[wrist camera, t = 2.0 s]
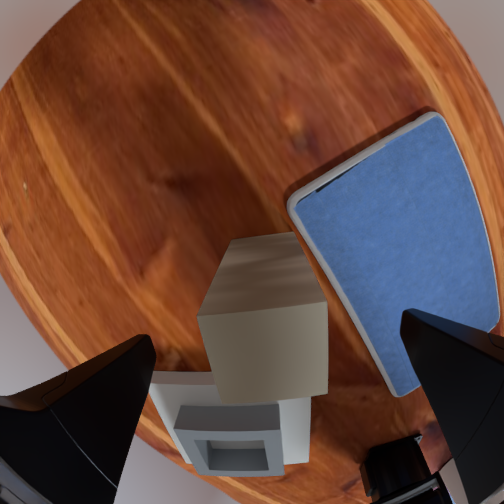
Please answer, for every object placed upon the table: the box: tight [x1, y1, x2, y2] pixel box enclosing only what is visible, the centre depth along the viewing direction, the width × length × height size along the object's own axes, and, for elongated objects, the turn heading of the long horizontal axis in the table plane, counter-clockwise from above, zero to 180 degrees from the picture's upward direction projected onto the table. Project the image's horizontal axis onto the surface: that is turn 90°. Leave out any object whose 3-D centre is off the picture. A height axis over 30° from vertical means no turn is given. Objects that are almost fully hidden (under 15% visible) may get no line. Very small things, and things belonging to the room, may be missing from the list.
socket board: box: [149, 371, 311, 477], centre depth 19 cm, size 12×12×4 cm
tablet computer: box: [287, 112, 500, 397], centre depth 16 cm, size 19×13×1 cm, turn 34°
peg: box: [197, 232, 328, 404], centre depth 12 cm, size 4×4×9 cm
